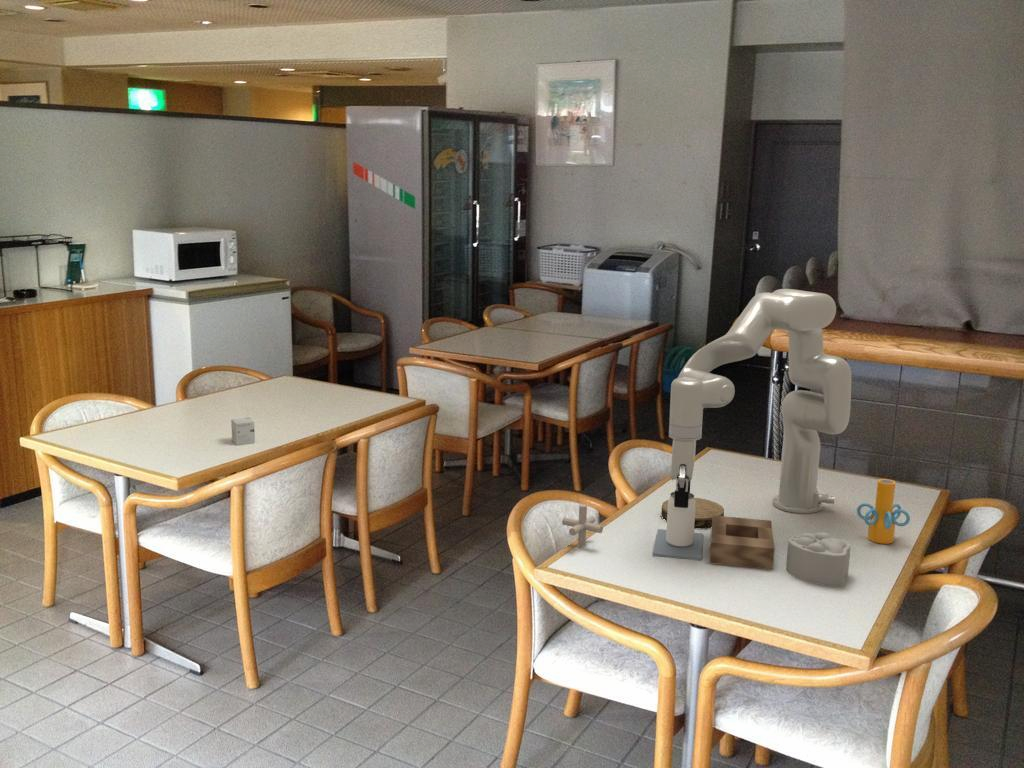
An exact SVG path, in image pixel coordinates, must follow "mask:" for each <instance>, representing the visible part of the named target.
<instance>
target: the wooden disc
mask: <svg viewBox="0 0 1024 768" xmlns="http://www.w3.org/2000/svg"><path fill="white" fill-rule="evenodd" d="M694 499H695V502H696V506H695V523H694V528H701V529H702V528H705V529H712V528H711V527H712V515H714V516H725V509H724V507H723V506H722V504H719V503H717V502H716V501H713V500H710V499H704V498H700V497H694ZM668 500H669V499H667V500H665V501H663V502H662V504H661V513H660V514H661V515H662V516H661V515H660V516H661V518H662V517H663V518H662V520H664V519H665V520H666V521H665V520H664V521H665V522H667V512H668ZM702 530H703V529H702Z"/></svg>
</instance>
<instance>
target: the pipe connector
mask: <svg viewBox="0 0 1024 768" xmlns="http://www.w3.org/2000/svg"><path fill="white" fill-rule="evenodd" d="M587 513H588V506H587V504H584V503H581V504H579V505H578V519H573V518H570V517H565V516H564V517H563V518H562V523H561V524H562V525H563V526H568V527H570V529H569V530H568V533H569V535H570V536H573V537H574V536H575V535H578V537H577V546H578V547H582V548H583V547H586V544H587V531H588V532H593V533H597V534H602V533H603V531H604V526H603V525H601V524H600V525H599V524H595V522H596V517H595V516H594V515H589V516H588V517H587Z"/></svg>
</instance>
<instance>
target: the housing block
mask: <svg viewBox="0 0 1024 768" xmlns="http://www.w3.org/2000/svg"><path fill="white" fill-rule="evenodd" d="M772 525H773V523H772V520H768V519H757V518H746V517H735V516H725V515H724V516H714V515H712V528H711V530H710V531H711V532H710V547H709V548H710V550H709V564H715V565H717V564H718V565H724V566H725V565H727V566H737V567H747V568H757V569H766V570H774V558H775V542H774V541H775V540H774V534H773V526H772Z"/></svg>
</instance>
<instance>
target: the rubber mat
mask: <svg viewBox="0 0 1024 768" xmlns="http://www.w3.org/2000/svg"><path fill="white" fill-rule="evenodd" d="M666 531H667V529H663V528H658V529H657V532H656V537H655V542H654V547H653V552H652V557H664V558H675V559H683V560H692V561H693V560H694V561H701V560H702V548H703V539H704V538H703V537H704V536H703V533H702V532H695V531H694V539H693V544H692V545H690V546H688V547H676V546H672V545H670V544H668V542H667V541H666Z"/></svg>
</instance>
